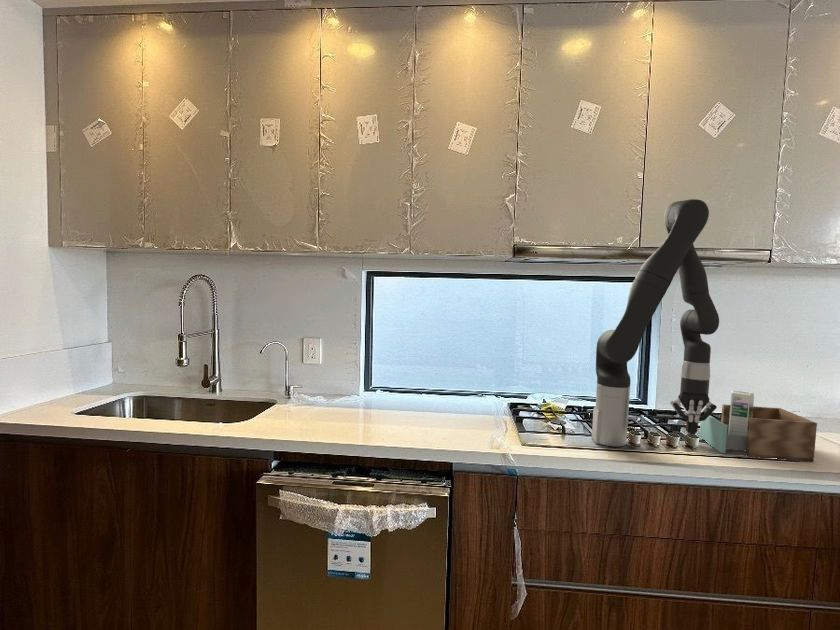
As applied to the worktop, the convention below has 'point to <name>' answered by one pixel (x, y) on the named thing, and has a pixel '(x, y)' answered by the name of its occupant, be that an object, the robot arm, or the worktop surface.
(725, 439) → the mint green drawer
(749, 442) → the wooden storage crate
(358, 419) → the worktop surface
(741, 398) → the syrup box
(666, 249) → the robot arm
